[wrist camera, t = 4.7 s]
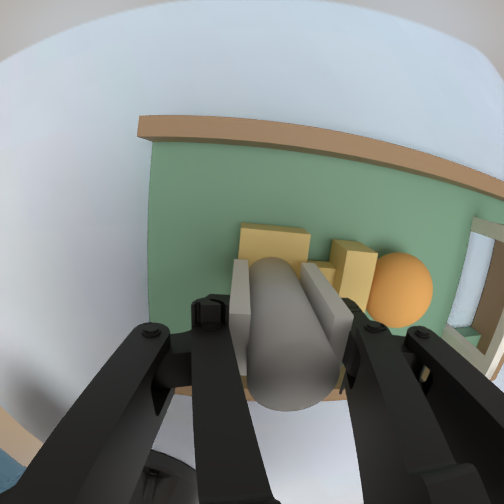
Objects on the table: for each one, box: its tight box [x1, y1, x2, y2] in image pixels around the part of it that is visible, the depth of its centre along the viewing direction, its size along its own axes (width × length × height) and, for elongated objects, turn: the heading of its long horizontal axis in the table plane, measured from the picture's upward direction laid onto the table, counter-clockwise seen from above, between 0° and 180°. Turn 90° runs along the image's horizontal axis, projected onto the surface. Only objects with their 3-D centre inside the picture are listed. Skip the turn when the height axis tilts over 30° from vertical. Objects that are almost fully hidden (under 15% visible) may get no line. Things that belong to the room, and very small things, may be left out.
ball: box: [366, 252, 433, 328], centre depth 18 cm, size 5×5×5 cm
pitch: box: [137, 115, 504, 401], centre depth 18 cm, size 32×18×9 cm, turn 84°
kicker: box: [238, 222, 378, 411], centre depth 14 cm, size 8×6×11 cm
